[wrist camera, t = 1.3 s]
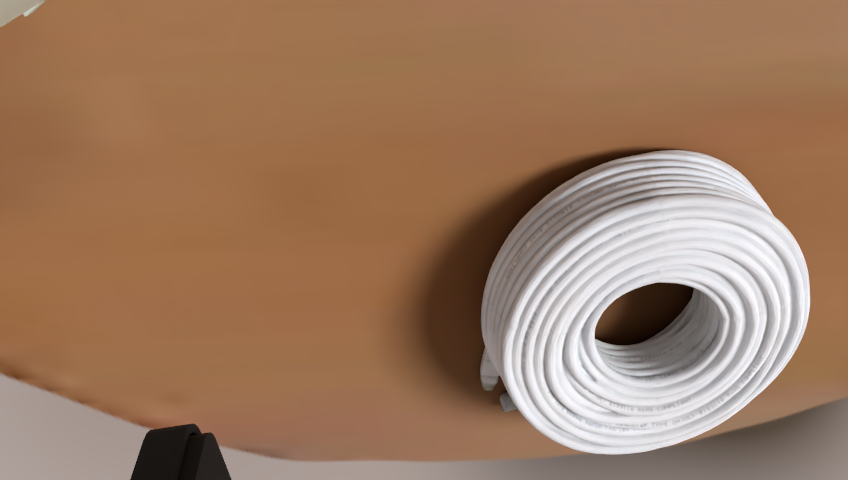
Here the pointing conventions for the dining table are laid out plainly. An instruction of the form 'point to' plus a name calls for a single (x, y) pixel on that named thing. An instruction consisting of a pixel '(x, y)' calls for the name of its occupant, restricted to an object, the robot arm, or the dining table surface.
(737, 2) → the dining table surface
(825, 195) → the dining table surface
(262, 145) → the dining table surface
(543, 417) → the cable
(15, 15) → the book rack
